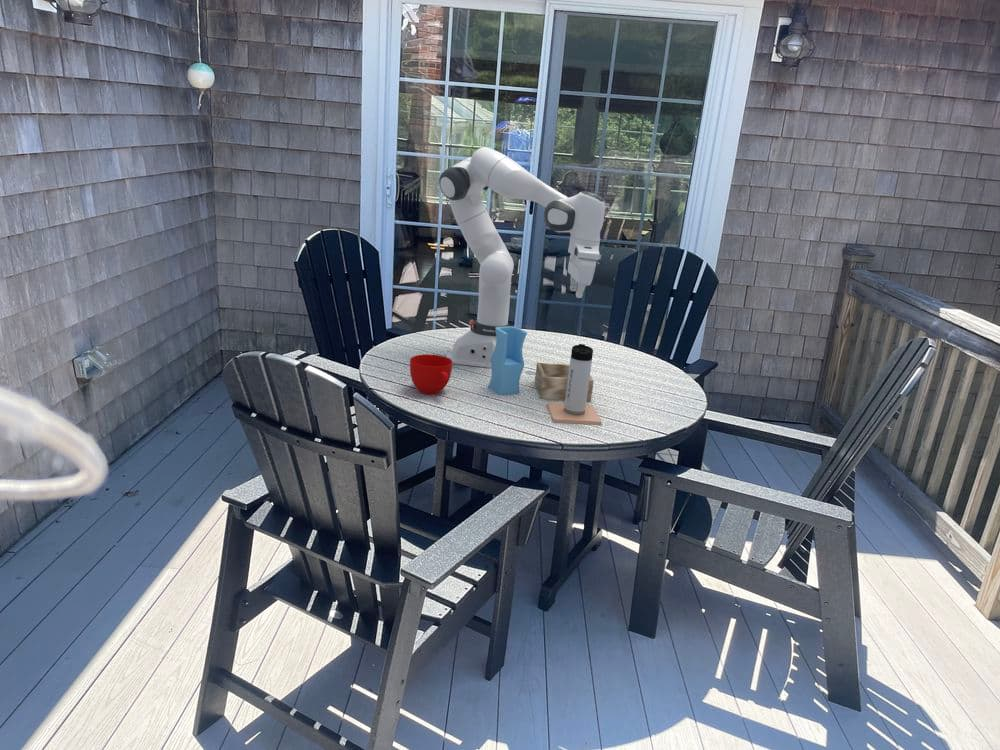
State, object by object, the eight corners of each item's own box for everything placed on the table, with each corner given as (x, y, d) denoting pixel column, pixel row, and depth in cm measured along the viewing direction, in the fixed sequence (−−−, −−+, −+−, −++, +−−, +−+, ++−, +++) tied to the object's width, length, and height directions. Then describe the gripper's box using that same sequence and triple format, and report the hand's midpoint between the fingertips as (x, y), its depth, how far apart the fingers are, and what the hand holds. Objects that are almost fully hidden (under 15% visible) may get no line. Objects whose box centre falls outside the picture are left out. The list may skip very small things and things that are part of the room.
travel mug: (583, 408, 219) (592, 344, 213) (585, 416, 213) (594, 350, 207) (563, 406, 219) (571, 342, 213) (564, 414, 213) (572, 348, 206)
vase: (499, 395, 227) (505, 333, 221) (488, 387, 233) (493, 326, 227) (521, 393, 230) (527, 332, 224) (509, 385, 237) (515, 326, 231)
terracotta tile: (553, 422, 208) (553, 419, 208) (546, 405, 222) (547, 402, 221) (601, 425, 210) (601, 421, 209) (591, 408, 223) (592, 404, 223)
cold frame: (540, 398, 227) (543, 377, 225) (534, 382, 242) (536, 362, 240) (590, 401, 229) (593, 380, 227) (581, 385, 244) (584, 365, 242)
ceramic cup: (425, 404, 213) (427, 372, 210) (401, 386, 226) (402, 355, 223) (464, 400, 219) (466, 368, 216) (438, 382, 233) (440, 352, 230)
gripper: (567, 242, 225) (560, 285, 229) (579, 252, 205) (571, 300, 210) (587, 244, 225) (579, 288, 230) (601, 255, 206) (592, 302, 210)
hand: (575, 293), depth 220 cm, fingers open, 8 cm apart
